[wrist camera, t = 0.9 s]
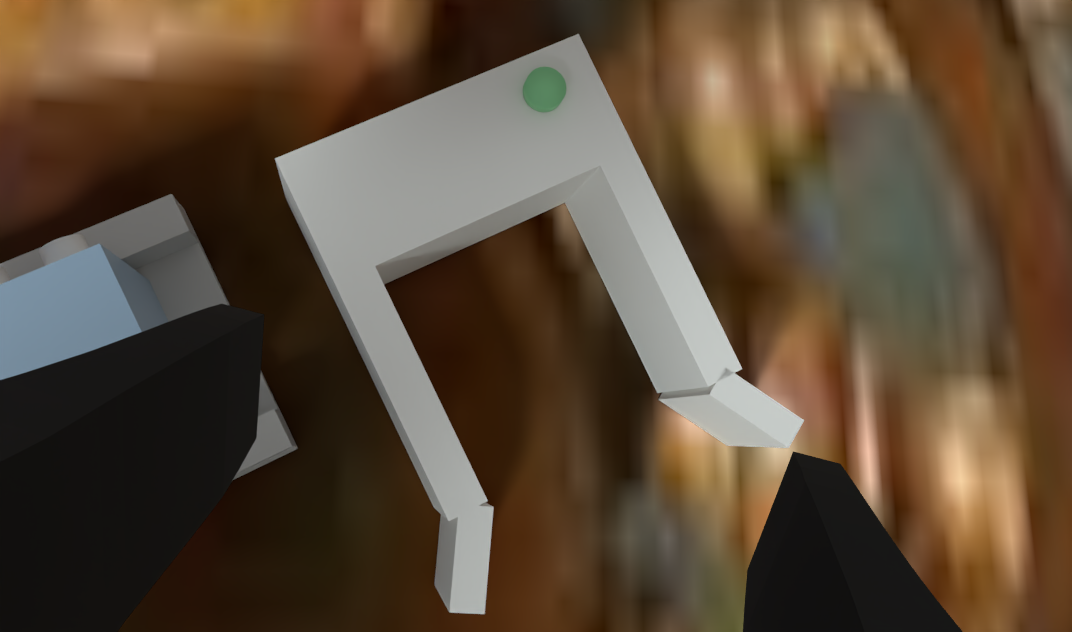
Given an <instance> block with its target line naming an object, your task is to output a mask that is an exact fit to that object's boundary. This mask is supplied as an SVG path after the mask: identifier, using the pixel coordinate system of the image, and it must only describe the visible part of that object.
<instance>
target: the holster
mask: <svg viewBox="0 0 1072 632" xmlns="http://www.w3.org/2000/svg"><path fill="white" fill-rule="evenodd" d="M74 234H81V235H83V236H84V238H85V240H86V242H87V245H88V247H89V248H90V247H92V246H94V245H97V244H99V243H100V244H101V245H103V246H104V247H105V248H107V249H108V250H109V251H111V252H112V253H113V254H115V255H116V256H117V257H119V258H120V259H121V260H123V261H124V262H125V263H127V264H128V265H129V266H131V267H132V268H133V269H135V270H136V271H137V272H139V273H140V274H141V275H143V276H144V277H145V278H147V279H148V280H149V281H150V284H151V286H152V288H153V290H154V292H155V294H156V296H157V298H158V300H159V302H160V305H161V307H162V309H163V311H164V313H165V315H166V317H167V319H168V321H172V320H174V319H177V318H180V317H182V316H185V315H188V314H191V313H193V312H196V311H199V310H202V309H205V308H208V307H211V306H215V305H218V304H225V305H229V306H230V304H229V302H228V300H227V298H226V296H225V294H224V292H223V289H222V287H221V285H220V283H219V281H218V279H217V277H216V275H215V273H214V271H213V268H212V266H211V264H210V262H209V260H208V258H207V256H206V254H205V252H204V250H203V248H202V245H201V243H200V241H199V239H198V237H197V235H196V233H195V231H194V229H193V227H192V224H191V222H190V220H189V218H188V216H187V214H186V212H185V210H184V208H183V207H182V205H181V204H179V203H178V201H177V200H176V199H175V197H174V196H173V195H172V194H170V195H167V196H165V197H162V198H160V199H157V200H155V201H153V202H150V203H148V204H145V205H143V206H140V207H138V208H135V209H133V210H130V211H128V212H126V213H123V214H121V215H118V216H116V217H113V218H111V219H108V220H106V221H104V222H101V223H99V224H96V225H94V226H91V227H89V228H86V229H84V230H82V231H79V232H77V233H74ZM74 234H72V235H74ZM40 248H41V247H40ZM40 248H38V249H35V250H33V251H30V252H28V253H25V254H23V255H20V256H18V257H16V258H13V259H11V260H8V261H6V262H3V263H1V264H0V267H4V268H5V269H6V272H7V274H8V276H9V278H10V280H12V279H15V278H17V277H20V276H22V275H24V274H27V273H29V272H32V271H34V270H36V269H39V268H41V267H44V266H45V265H44V263H43V261H42V259H41V256H40V254H39V252H38V251H39V249H40ZM296 449H298V447H297V445H296V443H295V441H294V439H293V436H292V434H291V432H290V430H289V428H288V426H287V424H286V422H285V420H284V418H283V415H282V413H281V411H280V409H279V407H278V405H277V403H276V401H275V399H274V397H273V394H272V392H271V390H270V388H269V386H268V384H267V382H266V380H265V378H264V376H263V373H262V371H261V375H260V391H259V407H258V423H257V438H256V440H255V442H254V444H253V445H252V447H251V449H250V451H249V453H248V454H247V456H246V458H245V460H244V461H243V463H242V465H241V467H240V469H239V470H238V472H237V474H236V475H235V477H234V479H236V478H238V477H240V476H242V475H244V474H246V473H249V472H251V471H253V470H255V469H257V468H259V467H261V466H263V465H265V464H267V463H269V462H271V461H273V460H276V459H278V458H280V457H282V456H284V455H286V454H288V453H290V452H292V451H294V450H296ZM234 479H233V480H234Z"/></svg>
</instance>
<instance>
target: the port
mask: <svg viewBox="0 0 1072 632" xmlns="http://www.w3.org/2000/svg"><path fill="white" fill-rule="evenodd" d="M275 161H276V165H277V168H278V172H279V176H280V179H281V183H282V187H283V190H284V194H285V197H286V200H287V202H288V204H289V206H290V209H291V211H292V213H293V215H294V217H295V219H296V221H297V223H298V225H299V227H300V229H301V231H302V234H303V236H304V238H305V240H306V242H307V244H308V246H309V248H310V250H311V252H312V254H313V257H314V259H315V261H316V263H317V265H318V267H319V269H320V271H321V273H322V275H323V277H324V279H325V282H326V284H327V286H328V288H329V290H330V292H331V294H332V296H333V298H334V300H335V302H336V305H337V307H338V309H339V311H340V313H341V315H342V317H343V319H344V321H345V323H346V325H347V327H348V330H349V332H350V334H351V336H352V338H353V340H354V342H355V344H356V346H357V348H358V350H359V353H360V355H361V357H362V359H363V361H364V363H365V365H366V367H367V369H368V371H369V373H370V375H371V378H372V380H373V382H374V384H375V386H376V388H377V390H378V392H379V394H380V396H381V398H382V401H383V403H384V405H385V407H386V409H387V411H388V413H389V415H390V417H391V419H392V421H393V423H394V426H395V428H396V430H397V432H398V434H399V436H400V438H401V440H402V442H403V444H404V446H405V449H406V451H407V453H408V455H409V457H410V459H411V461H412V463H413V465H414V467H415V469H416V471H417V474H418V476H419V478H420V480H421V482H422V484H423V486H424V488H425V490H426V492H427V494H428V497H429V499H430V501H431V503H432V505H433V507H434V508H435V509H436V510H437V511H438V512H439V513H440V514H441V517H440V528H439V539H438V550H437V561H436V572H435V583H434V585H435V587H436V589H437V591H438V593H439V594H440V596H441V598H442V600H443V602H444V604H445V605H446V607H447V609H448V611H449V612H450V613H470V614H485V603H486V591H487V579H488V568H489V556H490V544H491V532H492V520H493V508H494V507H493V506H491V505H489V504H488V503H486V502H487V501H488V500H487V498H486V496H485V494H484V492H483V490H482V488H481V486H480V483H479V481H478V479H477V477H476V475H475V473H474V471H473V469H472V467H471V465H470V463H469V461H468V458H467V456H466V454H465V452H464V450H463V448H462V446H461V444H460V442H459V440H458V438H457V436H456V433H455V431H454V429H453V427H452V425H451V423H450V421H449V419H448V417H447V415H446V413H445V411H444V409H443V406H442V404H441V402H440V400H439V398H438V396H437V394H436V392H435V390H434V388H433V386H432V384H431V381H430V379H429V377H428V375H427V373H426V371H425V369H424V367H423V365H422V363H421V361H420V359H419V356H418V354H417V352H416V350H415V348H414V346H413V344H412V342H411V340H410V338H409V336H408V334H407V332H406V329H405V327H404V325H403V323H402V321H401V319H400V317H399V315H398V313H397V311H396V309H395V307H394V304H393V302H392V300H391V298H390V296H389V294H388V292H387V290H386V288H385V286H384V284H386V283H389V282H391V281H393V280H395V279H397V278H400V277H402V276H404V275H406V274H409V273H411V272H413V271H415V270H417V269H420V268H422V267H424V266H426V265H428V264H431V263H433V262H435V261H437V260H439V259H442V258H444V257H446V256H448V255H451V254H453V253H455V252H457V251H459V250H462V249H464V248H466V247H468V246H470V245H473V244H475V243H477V242H479V241H481V240H484V239H486V238H488V237H490V236H493V235H495V234H497V233H499V232H501V231H504V230H506V229H508V228H510V227H512V226H515V225H517V224H519V223H521V222H523V221H526V220H528V219H530V218H532V217H535V216H537V215H539V214H541V213H543V212H546V211H548V210H550V209H552V208H554V207H557V206H559V205H561V204H563V203H565V204H566V206H567V208H568V210H569V212H570V214H571V217H572V219H573V221H574V223H575V225H576V227H577V229H578V231H579V233H580V235H581V237H582V239H583V241H584V243H585V245H586V247H587V249H588V251H589V254H590V256H591V258H592V260H593V262H594V264H595V266H596V268H597V270H598V272H599V274H600V276H601V278H602V280H603V282H604V284H605V286H606V288H607V291H608V293H609V295H610V297H611V299H612V301H613V303H614V305H615V307H616V309H617V311H618V313H619V315H620V317H621V319H622V321H623V323H624V325H625V328H626V330H627V332H628V334H629V336H630V338H631V340H632V342H633V344H634V346H635V348H636V350H637V352H638V354H639V356H640V358H641V360H642V363H643V365H644V367H645V369H646V371H647V373H648V375H649V377H650V379H651V381H652V383H653V385H654V387H655V389H656V391H657V393H662V392H663V393H662V394H661V396H660V398H659V399H658V400H660V401H661V402H663V403H664V404H666V405H667V406H669V407H670V408H671V409H673V410H674V411H676V412H677V413H679V414H680V415H682V416H683V417H685V418H686V419H688V420H689V421H691V422H692V423H694V424H695V425H697V426H698V427H700V428H701V429H703V430H704V431H706V432H707V433H709V434H710V435H712V436H713V437H715V438H716V439H718V440H719V441H721V442H722V443H724V444H725V445H727V446H749V447H775V448H789V446H790V445H791V443H792V441H793V439H794V438H795V436H796V434H797V432H798V430H799V429H800V427H801V425H802V423H803V422H804V420H803V419H801V418H800V417H798V416H797V415H795V414H794V413H792V412H791V411H789V410H788V409H787V408H785V407H784V406H782V405H781V404H779V403H778V402H776V401H775V400H773V399H772V398H770V397H769V396H767V395H766V394H764V393H763V392H762V391H760V390H759V389H757V388H756V387H754V386H753V385H751V384H750V383H748V382H747V381H745V380H744V379H742V378H741V377H739V376H738V375H736V374H735V373H736V372H738V371H739V370H741V369H742V367H741V365H740V363H739V361H738V359H737V357H736V355H735V353H734V351H733V349H732V347H731V345H730V343H729V340H728V338H727V336H726V334H725V332H724V330H723V328H722V326H721V324H720V322H719V320H718V318H717V316H716V314H715V312H714V310H713V308H712V306H711V304H710V302H709V300H708V298H707V295H706V293H705V291H704V289H703V287H702V285H701V283H700V281H699V279H698V277H697V275H696V273H695V271H694V269H693V267H692V265H691V263H690V261H689V259H688V257H687V255H686V253H685V250H684V248H683V246H682V244H681V242H680V240H679V238H678V236H677V234H676V232H675V230H674V228H673V226H672V224H671V222H670V220H669V218H668V216H667V214H666V212H665V210H664V208H663V205H662V203H661V201H660V199H659V197H658V195H657V193H656V191H655V189H654V187H653V185H652V183H651V181H650V179H649V177H648V175H647V173H646V171H645V169H644V167H643V165H642V163H641V160H640V158H639V156H638V154H637V152H636V150H635V148H634V146H633V144H632V142H631V140H630V138H629V136H628V134H627V132H626V130H625V128H624V126H623V124H622V122H621V120H620V117H619V115H618V113H617V111H616V109H615V107H614V105H613V103H612V101H611V99H610V97H609V95H608V93H607V91H606V89H605V87H604V85H603V83H602V81H601V79H600V77H599V75H598V72H597V70H596V68H595V66H594V64H593V62H592V60H591V58H590V56H589V54H588V52H587V50H586V48H585V46H584V44H583V42H582V40H581V38H580V36H579V34H577V35H574V36H572V37H569V38H567V39H565V40H562V41H560V42H557V43H555V44H552V45H550V46H548V47H545V48H543V49H540V50H538V51H535V52H533V53H530V54H528V55H526V56H523V57H521V58H518V59H516V60H513V61H511V62H509V63H506V64H504V65H501V66H499V67H496V68H494V69H491V70H489V71H487V72H484V73H482V74H479V75H477V76H474V77H472V78H470V79H467V80H465V81H462V82H460V83H457V84H455V85H453V86H450V87H448V88H445V89H443V90H440V91H438V92H435V93H433V94H431V95H428V96H426V97H423V98H421V99H418V100H416V101H414V102H411V103H409V104H406V105H404V106H401V107H399V108H397V109H394V110H392V111H389V112H387V113H384V114H382V115H379V116H377V117H375V118H372V119H370V120H367V121H365V122H362V123H360V124H358V125H355V126H353V127H350V128H348V129H345V130H343V131H340V132H338V133H336V134H333V135H331V136H328V137H326V138H323V139H321V140H319V141H316V142H314V143H311V144H309V145H306V146H304V147H302V148H299V149H297V150H294V151H292V152H289V153H287V154H284V155H282V156H280V157H277V158H275Z"/></svg>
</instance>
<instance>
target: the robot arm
mask: <svg viewBox="0 0 1072 632" xmlns="http://www.w3.org/2000/svg"><path fill="white" fill-rule="evenodd" d="M263 327H264V314H260V313H256V312H252V311H248V310H244V309H241V308H237V307H233V306H229V305H225V304H218V305H215V306H211V307H208V308H205V309H202V310H199V311H196V312H193V313H191V314H188V315H185V316H182V317H180V318H177V319H174V320H172V321H169V322H167V323H164V324H161V325H159V326H156V327H154V328H151V329H148V330H146V331H143V332H140V333H138V334H135V335H132V336H130V337H127V338H124V339H122V340H119V341H116V342H114V343H111V344H108V345H106V346H103V347H100V348H98V349H95V350H92V351H89V352H86V353H83V354H80V355H77V356H74V357H71V358H68V359H65V360H62V361H59V362H56V363H53V364H50V365H47V366H44V367H41V368H38V369H35V370H31V371H28V372H25V373H22V374H19V375H16V376H12V377H9V378H5V379H2V380H0V632H118V630H119V629H120V627H121V626H122V625H123V623H124V622H125V620H126V619H127V618H128V617H129V615H130V614H131V613H132V612H133V610H134V609H135V608H136V606H137V605H138V604H139V603H140V601H141V600H142V599H143V598H144V596H145V595H146V594H147V593H148V591H149V590H150V589H151V588H152V586H153V585H154V584H155V583H156V581H157V580H158V579H159V577H160V576H161V575H162V574H163V572H164V571H165V570H166V569H167V567H168V566H169V565H170V564H171V562H172V561H173V560H174V559H175V557H176V556H177V555H178V554H179V552H180V551H181V550H182V549H183V547H184V546H185V545H186V543H187V542H188V541H189V540H190V538H191V537H192V536H193V535H194V533H195V532H196V531H197V529H198V528H199V527H200V526H201V524H202V523H203V522H204V520H205V519H206V518H207V517H208V515H209V514H210V513H211V511H212V510H213V509H214V507H215V506H216V505H217V504H218V502H219V501H220V500H221V498H222V497H223V495H224V494H225V492H226V490H227V489H228V487H229V485H230V484H231V482H232V480H233V479H234V477H235V475H236V474H237V472H238V470H239V469H240V467H241V465H242V463H243V461H244V460H245V458H246V456H247V454H248V453H249V451H250V449H251V447H252V445H253V444H254V442H255V440H256V438H257V423H258V407H259V391H260V375H261V359H262V343H263ZM743 632H962V630H961V629H960V628H959V627H958V626H957V624H956V623H955V622H954V621H953V619H952V618H951V617H950V616H949V615H948V613H947V612H946V611H945V610H944V608H943V607H942V606H941V605H940V603H939V602H938V601H937V600H936V599H935V597H934V596H933V595H932V593H931V592H930V591H929V589H928V588H927V587H926V585H925V584H924V583H923V582H922V580H921V579H920V578H919V576H918V575H917V574H916V572H915V571H914V569H913V568H912V567H911V565H910V564H909V563H908V561H907V560H906V558H905V557H904V556H903V554H902V553H901V551H900V550H899V549H898V547H897V546H896V544H895V543H894V542H893V540H892V539H891V537H890V536H889V534H888V533H887V531H886V530H885V529H884V527H883V526H882V524H881V523H880V521H879V520H878V518H877V517H876V515H875V514H874V512H873V511H872V509H871V508H870V506H869V505H868V503H867V502H866V500H865V499H864V497H863V496H862V494H861V493H860V491H859V490H858V488H857V487H856V485H855V484H854V483H853V481H852V480H851V478H850V477H849V475H848V474H847V472H846V471H845V470H844V468H843V467H842V466H841V464H839V463H835V462H831V461H827V460H824V459H820V458H816V457H812V456H808V455H804V454H800V453H797V452H793V454H792V456H791V459H790V461H789V464H788V467H787V469H786V472H785V474H784V477H783V480H782V482H781V485H780V487H779V490H778V493H777V495H776V498H775V500H774V503H773V505H772V508H771V511H770V513H769V516H768V518H767V521H766V524H765V526H764V529H763V531H762V534H761V537H760V539H759V542H758V544H757V547H756V550H755V552H754V555H753V557H752V560H751V562H750V565H749V568H748V571H747V583H746V595H745V608H744V624H743Z"/></svg>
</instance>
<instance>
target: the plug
mask: <svg viewBox="0 0 1072 632" xmlns="http://www.w3.org/2000/svg"><path fill="white" fill-rule="evenodd" d="M38 252H39V254H40V256H41V259H42V261H43V263H44V265H45V266H44V267H41V268H39V269H36V270H34V271H32V272H29V273H27V274H24V275H22V276H20V277H17V278H15V279H12V280H10V278H9V276H8V274H7V272H6V269H5V268H4V267H0V380H2V379H5V378H9V377H12V376H16V375H19V374H22V373H25V372H28V371H31V370H35V369H38V368H41V367H44V366H47V365H50V364H53V363H56V362H59V361H62V360H65V359H68V358H71V357H74V356H77V355H80V354H83V353H86V352H89V351H92V350H95V349H98V348H100V347H103V346H106V345H108V344H111V343H114V342H116V341H119V340H122V339H124V338H127V337H130V336H132V335H135V334H138V333H140V332H143V331H146V330H148V329H151V328H154V327H156V326H159V325H161V324H164V323H167V322H169V321H168V319H167V317H166V315H165V313H164V311H163V309H162V307H161V305H160V302H159V300H158V298H157V296H156V294H155V292H154V290H153V288H152V286H151V284H150V281H149V280H148V279H147V278H145V277H144V276H143V275H141V274H140V273H139V272H137V271H136V270H135V269H133V268H132V267H131V266H129V265H128V264H127V263H125V262H124V261H123V260H121V259H120V258H119V257H117V256H116V255H115V254H113V253H112V252H111V251H109V250H108V249H107V248H105V247H104V246H103V245H101V244H100V243H99V244H97V245H94V246H92V247H90V248H89V247H88V245H87V242H86V240H85V238H84V236H83V235H81V234H74V235H68V236H64V237H61V238H58V239H56V240H53V241H51V242H49V243H47V244H45V245H44V246H42V247H41V248H40V249H39V251H38Z"/></svg>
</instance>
